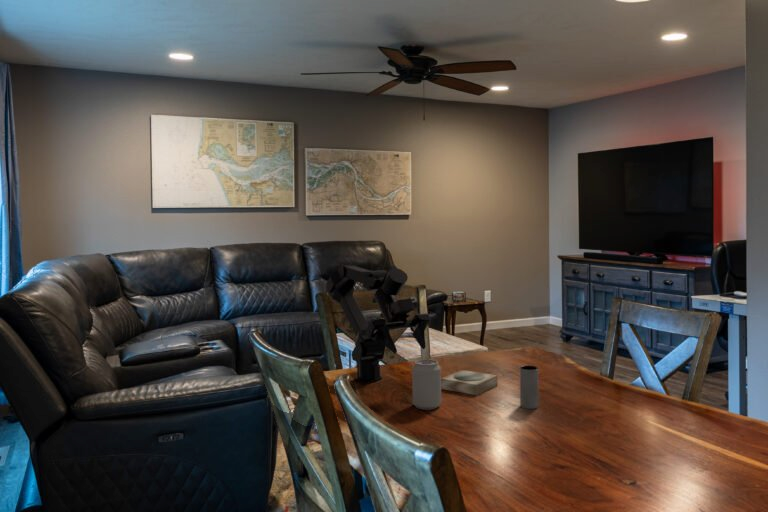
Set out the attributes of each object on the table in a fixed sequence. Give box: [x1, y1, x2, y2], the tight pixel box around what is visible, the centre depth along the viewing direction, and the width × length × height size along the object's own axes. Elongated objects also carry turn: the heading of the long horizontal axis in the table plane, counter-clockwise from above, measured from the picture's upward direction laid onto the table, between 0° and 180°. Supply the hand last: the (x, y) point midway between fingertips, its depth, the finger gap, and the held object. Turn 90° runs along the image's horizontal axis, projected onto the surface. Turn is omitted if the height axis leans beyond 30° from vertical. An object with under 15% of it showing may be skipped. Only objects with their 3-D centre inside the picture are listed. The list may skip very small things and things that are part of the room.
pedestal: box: [441, 369, 498, 396], centre depth 179 cm, size 12×12×3 cm
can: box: [411, 358, 442, 411], centre depth 161 cm, size 8×8×12 cm
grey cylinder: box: [519, 365, 539, 410], centre depth 160 cm, size 4×4×10 cm
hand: (410, 350), depth 168 cm, fingers open, 9 cm apart
